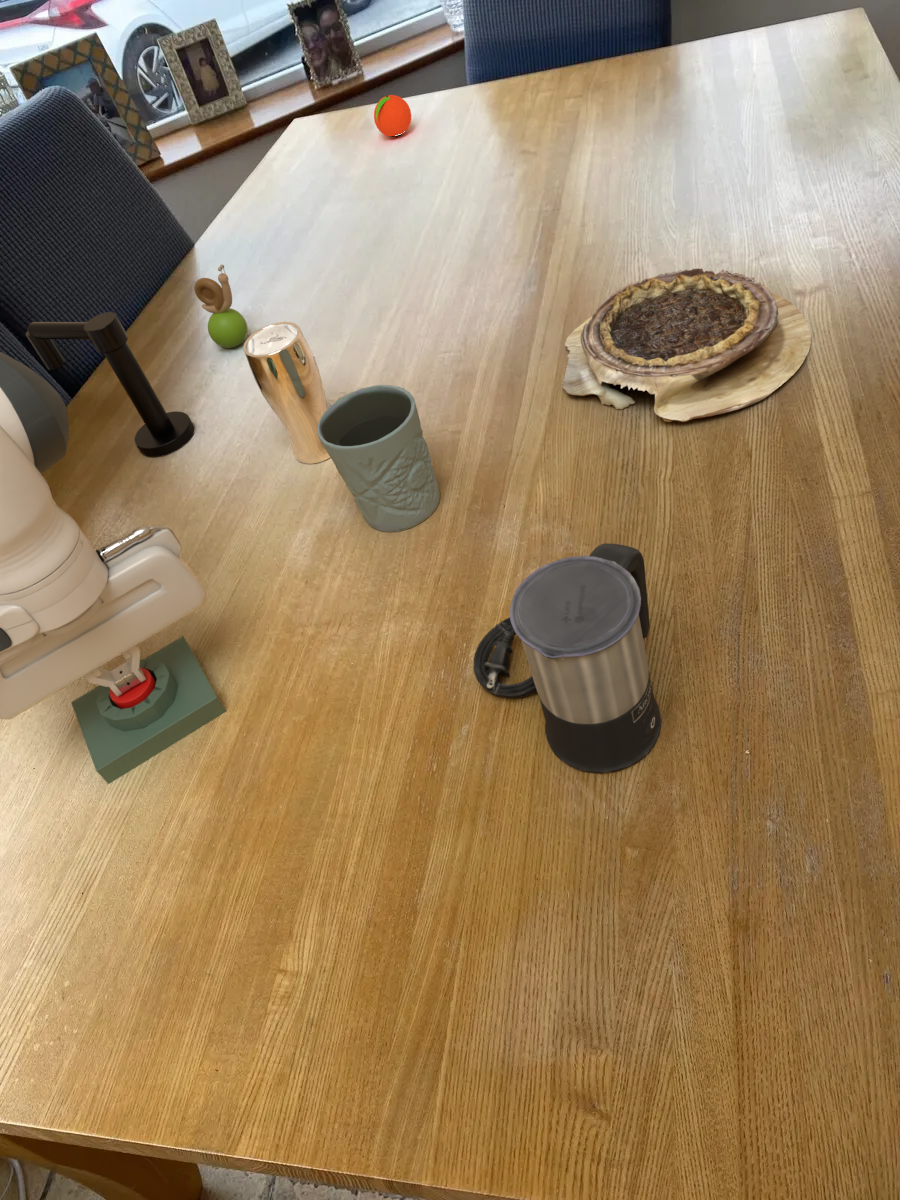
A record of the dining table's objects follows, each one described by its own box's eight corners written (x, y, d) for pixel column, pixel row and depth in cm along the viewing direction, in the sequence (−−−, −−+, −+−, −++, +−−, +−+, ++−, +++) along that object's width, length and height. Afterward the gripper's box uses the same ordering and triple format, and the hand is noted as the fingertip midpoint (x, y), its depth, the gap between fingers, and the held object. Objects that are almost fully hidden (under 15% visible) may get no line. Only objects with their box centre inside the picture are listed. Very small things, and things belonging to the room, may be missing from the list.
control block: (108, 784, 84) (85, 759, 81) (82, 715, 91) (60, 690, 88) (227, 711, 86) (208, 685, 84) (192, 649, 93) (174, 623, 90)
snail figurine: (248, 354, 132) (212, 276, 124) (211, 356, 134) (173, 279, 126) (265, 332, 135) (231, 255, 127) (228, 334, 138) (192, 258, 129)
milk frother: (660, 777, 71) (639, 652, 60) (458, 775, 75) (407, 658, 65) (664, 633, 80) (646, 503, 70) (484, 638, 85) (443, 517, 74)
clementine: (399, 146, 172) (387, 106, 167) (369, 146, 175) (357, 107, 170) (422, 126, 176) (412, 86, 171) (393, 127, 179) (382, 88, 174)
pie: (576, 299, 120) (570, 263, 117) (805, 271, 111) (805, 232, 108) (547, 438, 102) (539, 400, 99) (817, 417, 94) (818, 375, 90)
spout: (39, 373, 119) (11, 330, 115) (59, 355, 121) (32, 312, 117) (128, 377, 112) (101, 331, 108) (147, 357, 115) (122, 311, 110)
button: (125, 721, 85) (115, 709, 84) (113, 694, 88) (104, 683, 86) (164, 697, 86) (155, 685, 84) (152, 672, 88) (143, 660, 87)
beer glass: (316, 424, 115) (270, 317, 105) (358, 435, 112) (314, 324, 101) (280, 459, 112) (228, 352, 102) (321, 471, 108) (272, 361, 98)
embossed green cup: (452, 521, 97) (421, 427, 88) (359, 549, 97) (319, 459, 89) (437, 463, 104) (407, 372, 95) (350, 490, 105) (313, 402, 96)
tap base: (149, 465, 119) (92, 372, 109) (133, 440, 124) (77, 349, 114) (202, 436, 120) (151, 341, 110) (184, 413, 125) (133, 320, 116)
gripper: (151, 497, 80) (219, 606, 90) (-76, 623, 76) (21, 723, 85) (173, 533, 76) (243, 643, 85) (-66, 669, 71) (35, 768, 81)
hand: (130, 684), depth 85 cm, fingers closed, pressing on button
